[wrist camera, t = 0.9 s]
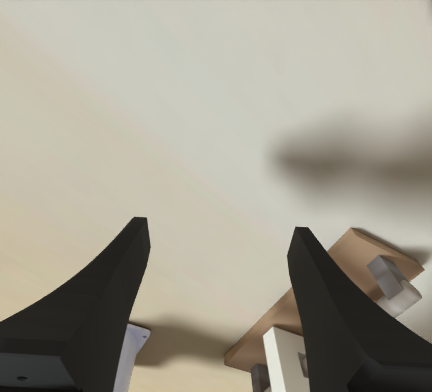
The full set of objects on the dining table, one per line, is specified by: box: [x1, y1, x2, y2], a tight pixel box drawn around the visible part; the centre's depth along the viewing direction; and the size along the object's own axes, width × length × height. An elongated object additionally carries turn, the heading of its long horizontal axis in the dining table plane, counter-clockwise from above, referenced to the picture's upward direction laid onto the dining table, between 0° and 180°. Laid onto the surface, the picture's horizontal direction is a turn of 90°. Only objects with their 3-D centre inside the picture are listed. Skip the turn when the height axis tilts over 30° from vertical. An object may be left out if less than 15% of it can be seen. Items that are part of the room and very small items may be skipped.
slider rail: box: [224, 228, 425, 392], centre depth 31 cm, size 24×9×6 cm, turn 151°
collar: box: [263, 327, 310, 392], centre depth 30 cm, size 2×8×7 cm, turn 61°
